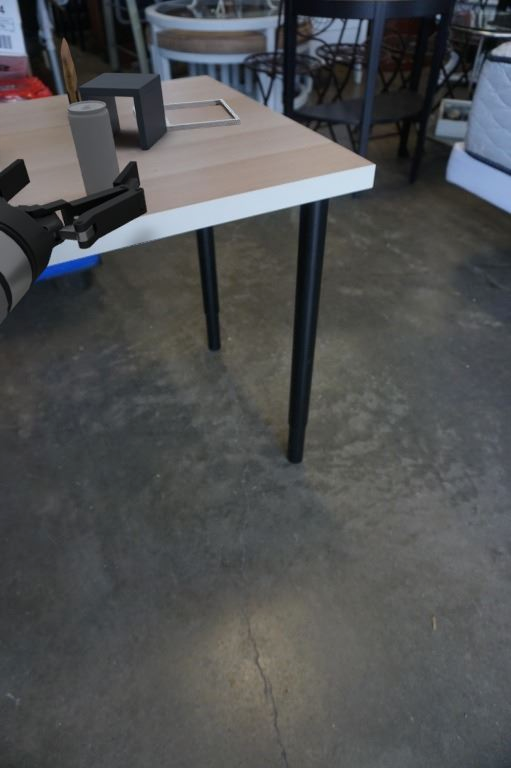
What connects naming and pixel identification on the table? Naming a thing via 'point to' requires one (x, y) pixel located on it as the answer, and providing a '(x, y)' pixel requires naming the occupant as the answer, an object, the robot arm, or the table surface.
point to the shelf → (145, 101)
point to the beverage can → (94, 145)
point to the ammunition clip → (70, 75)
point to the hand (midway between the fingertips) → (79, 171)
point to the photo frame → (198, 124)
